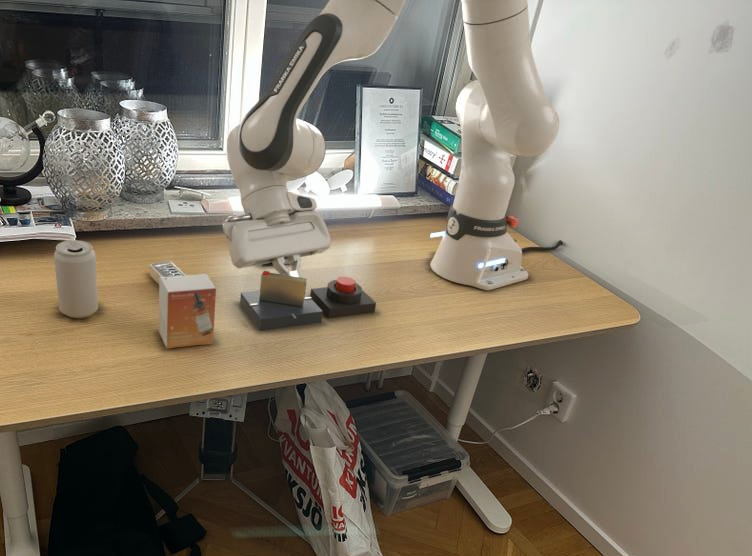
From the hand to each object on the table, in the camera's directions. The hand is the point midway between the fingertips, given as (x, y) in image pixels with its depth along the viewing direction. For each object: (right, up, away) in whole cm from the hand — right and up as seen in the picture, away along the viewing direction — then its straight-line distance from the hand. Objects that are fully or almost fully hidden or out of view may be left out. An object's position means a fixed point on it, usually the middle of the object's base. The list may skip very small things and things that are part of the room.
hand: (293, 281), depth 119 cm
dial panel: (-2, -6, +1) cm, 6 cm away
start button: (+10, -1, +5) cm, 11 cm away
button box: (+9, -4, +7) cm, 12 cm away
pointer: (-2, -4, 0) cm, 4 cm away
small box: (-18, -11, -9) cm, 23 cm away
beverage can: (-37, -6, -6) cm, 38 cm away
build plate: (-6, +9, +23) cm, 25 cm away
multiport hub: (-23, 0, +6) cm, 24 cm away
